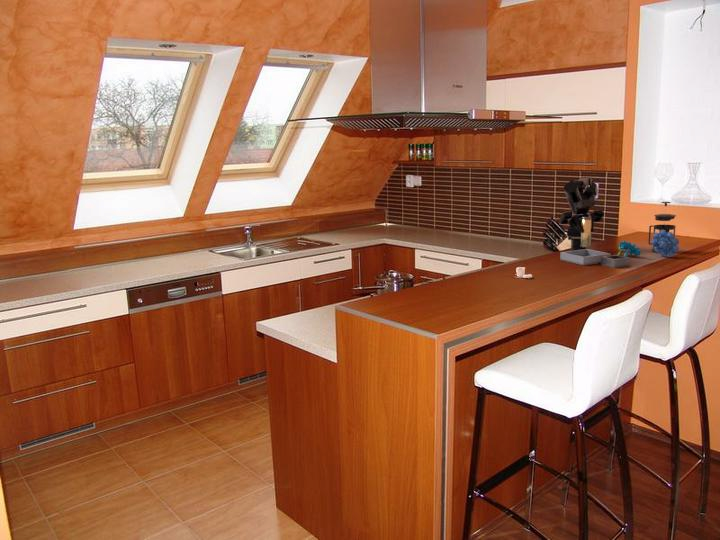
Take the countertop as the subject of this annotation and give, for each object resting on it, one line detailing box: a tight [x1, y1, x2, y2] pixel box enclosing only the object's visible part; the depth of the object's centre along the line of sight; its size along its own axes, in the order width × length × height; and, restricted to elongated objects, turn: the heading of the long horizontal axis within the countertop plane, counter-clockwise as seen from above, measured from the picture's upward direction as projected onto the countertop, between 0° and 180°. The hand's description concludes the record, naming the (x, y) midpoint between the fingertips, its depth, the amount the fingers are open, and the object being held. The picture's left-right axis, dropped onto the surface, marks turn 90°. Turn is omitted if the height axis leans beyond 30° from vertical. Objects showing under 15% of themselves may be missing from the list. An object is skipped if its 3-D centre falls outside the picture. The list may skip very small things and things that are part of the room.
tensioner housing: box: [600, 254, 630, 269], centre depth 255 cm, size 8×8×4 cm
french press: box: [648, 201, 677, 254], centre depth 279 cm, size 12×9×23 cm
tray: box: [559, 248, 612, 266], centre depth 268 cm, size 15×15×4 cm
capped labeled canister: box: [581, 216, 592, 248], centre depth 266 cm, size 4×4×13 cm
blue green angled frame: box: [617, 240, 642, 257], centre depth 272 cm, size 11×6×10 cm
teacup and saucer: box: [515, 266, 533, 279], centre depth 242 cm, size 9×8×4 cm
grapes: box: [650, 230, 680, 258], centre depth 267 cm, size 12×7×12 cm, turn 47°
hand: (587, 232), depth 264 cm, fingers closed on capped labeled canister, 4 cm apart
